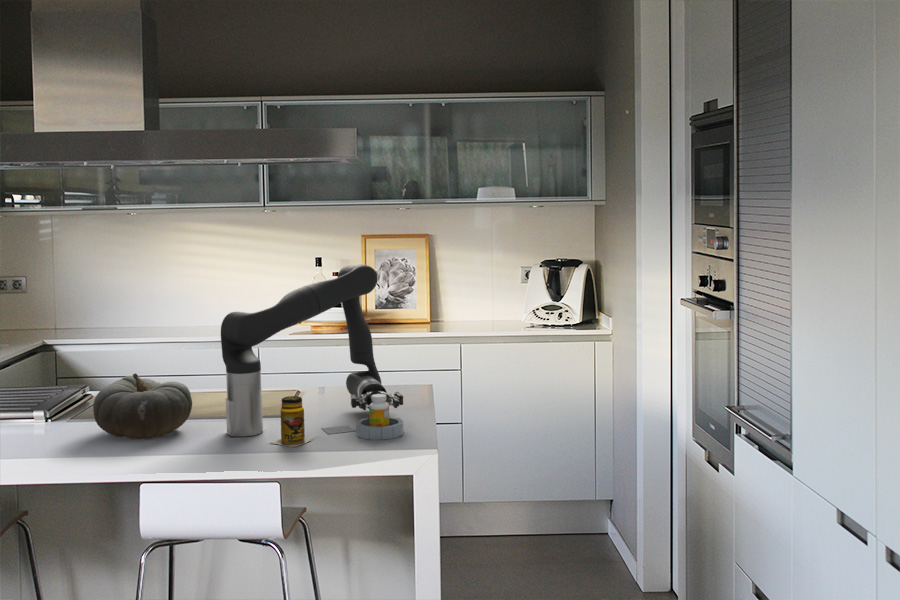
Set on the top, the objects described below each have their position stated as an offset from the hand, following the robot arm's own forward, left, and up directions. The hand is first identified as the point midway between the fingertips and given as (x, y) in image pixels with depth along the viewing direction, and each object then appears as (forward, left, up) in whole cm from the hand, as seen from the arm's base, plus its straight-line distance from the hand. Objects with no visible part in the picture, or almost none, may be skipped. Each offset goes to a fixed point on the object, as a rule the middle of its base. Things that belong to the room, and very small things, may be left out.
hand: (380, 405), depth 231 cm
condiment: (-24, +4, -8) cm, 25 cm away
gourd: (-58, +31, -8) cm, 66 cm away
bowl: (0, +2, -8) cm, 8 cm away
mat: (-9, +11, -8) cm, 16 cm away
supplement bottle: (0, +2, -8) cm, 8 cm away
